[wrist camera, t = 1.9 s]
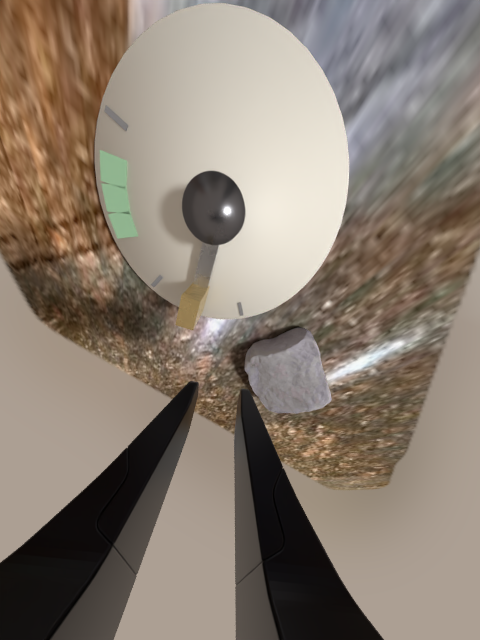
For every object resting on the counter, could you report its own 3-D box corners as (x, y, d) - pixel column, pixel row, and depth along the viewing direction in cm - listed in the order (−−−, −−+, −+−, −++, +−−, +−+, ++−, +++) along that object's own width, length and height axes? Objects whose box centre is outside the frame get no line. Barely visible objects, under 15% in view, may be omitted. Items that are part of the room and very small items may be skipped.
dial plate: (358, -41, 10) (370, -69, 9) (334, 300, 20) (339, 304, 19) (46, 79, 13) (29, 67, 12) (161, 326, 22) (157, 331, 22)
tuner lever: (200, 170, 14) (183, 153, 10) (253, 193, 14) (255, 183, 11) (174, 309, 20) (158, 328, 16) (213, 321, 20) (205, 342, 17)
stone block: (267, 390, 30) (330, 385, 26) (263, 417, 26) (337, 416, 22) (239, 335, 26) (311, 319, 22) (229, 358, 22) (316, 343, 18)
